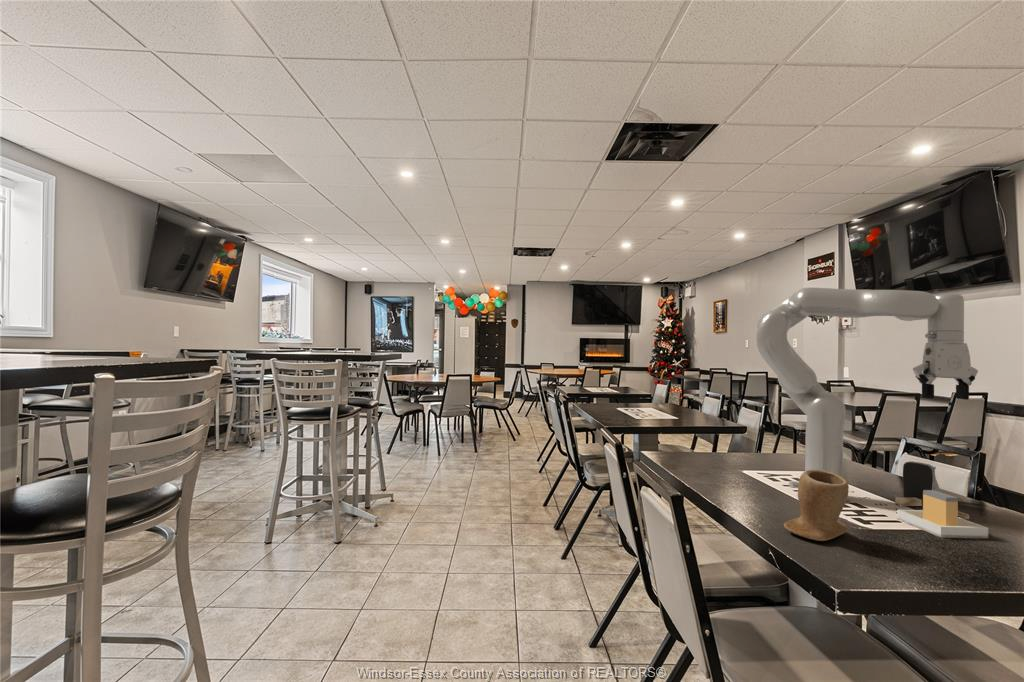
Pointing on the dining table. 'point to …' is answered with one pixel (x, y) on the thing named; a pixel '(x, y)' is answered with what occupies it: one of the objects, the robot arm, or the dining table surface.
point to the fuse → (940, 508)
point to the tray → (960, 531)
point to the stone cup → (820, 506)
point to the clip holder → (920, 504)
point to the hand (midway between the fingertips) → (945, 398)
